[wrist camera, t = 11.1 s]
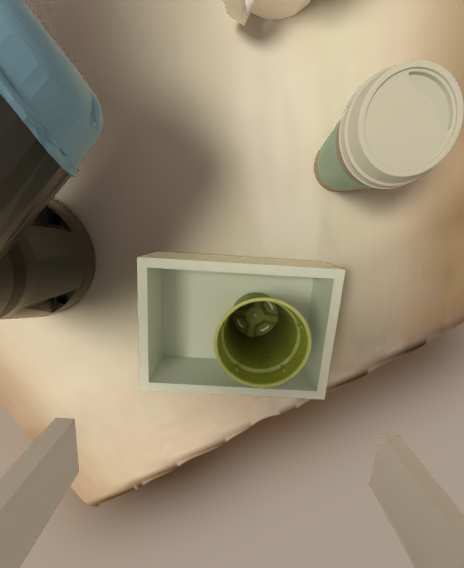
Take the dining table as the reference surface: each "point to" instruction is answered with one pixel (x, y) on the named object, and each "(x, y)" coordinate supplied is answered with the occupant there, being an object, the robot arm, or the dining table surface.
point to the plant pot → (262, 341)
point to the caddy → (215, 304)
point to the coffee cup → (393, 129)
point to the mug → (263, 8)
